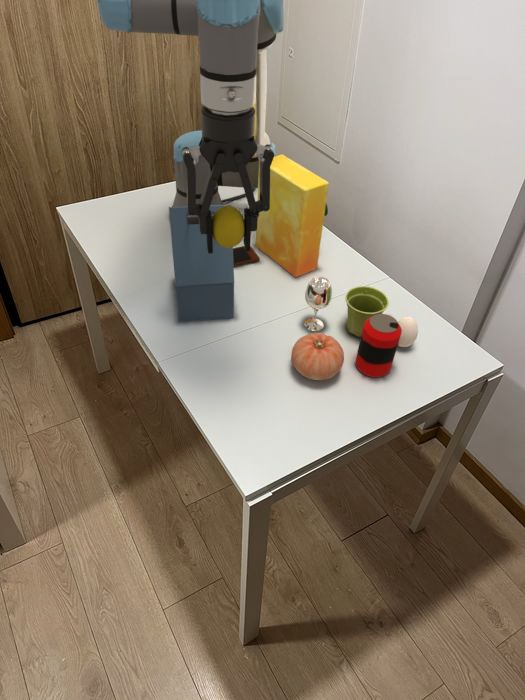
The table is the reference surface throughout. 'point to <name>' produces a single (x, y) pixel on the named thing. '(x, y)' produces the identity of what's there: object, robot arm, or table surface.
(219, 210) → the lemon
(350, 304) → the plant pot
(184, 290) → the blue-grey hollow box
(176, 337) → the table surface
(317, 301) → the wineglass
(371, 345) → the soda can
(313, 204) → the mottled yellow carton
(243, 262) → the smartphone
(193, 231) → the lid
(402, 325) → the egg
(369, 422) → the table surface
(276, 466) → the table surface
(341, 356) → the orange pumpkin
